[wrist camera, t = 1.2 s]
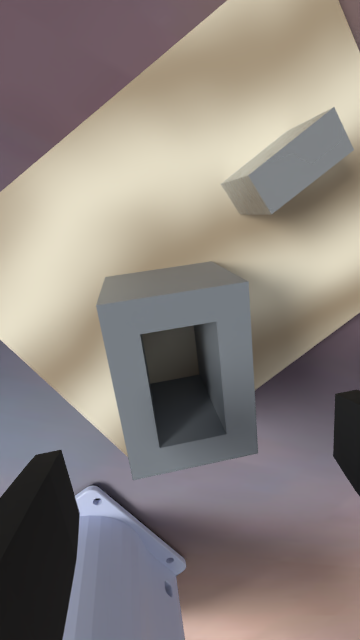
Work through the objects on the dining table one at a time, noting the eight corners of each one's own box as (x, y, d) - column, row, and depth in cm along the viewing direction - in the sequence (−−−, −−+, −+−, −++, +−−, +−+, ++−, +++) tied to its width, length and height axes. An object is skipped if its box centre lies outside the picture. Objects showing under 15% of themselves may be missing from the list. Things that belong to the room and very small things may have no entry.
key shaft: (303, 164, 15) (354, 149, 12) (239, 214, 15) (271, 214, 12) (286, 131, 14) (334, 106, 11) (220, 184, 15) (248, 175, 11)
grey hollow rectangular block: (211, 261, 16) (248, 281, 11) (223, 390, 18) (258, 453, 13) (105, 277, 15) (96, 305, 10) (130, 407, 17) (133, 480, 13)
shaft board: (425, 249, 18) (441, 251, 17) (143, 459, 20) (144, 472, 19) (296, -50, 13) (309, -70, 12) (-70, 259, 15) (-84, 262, 14)
